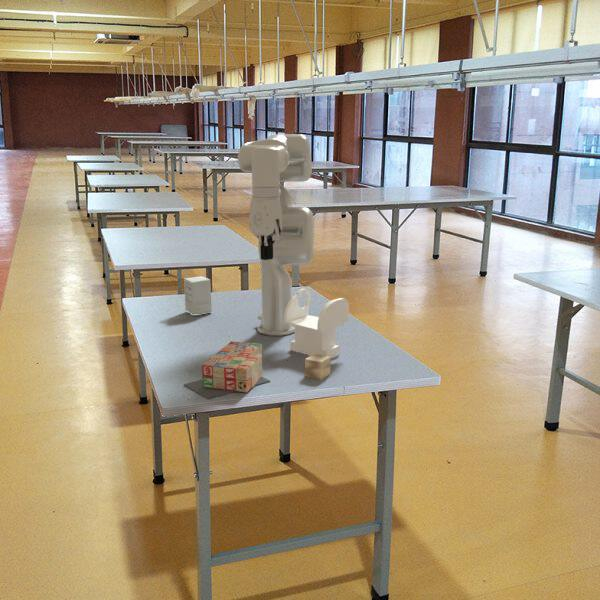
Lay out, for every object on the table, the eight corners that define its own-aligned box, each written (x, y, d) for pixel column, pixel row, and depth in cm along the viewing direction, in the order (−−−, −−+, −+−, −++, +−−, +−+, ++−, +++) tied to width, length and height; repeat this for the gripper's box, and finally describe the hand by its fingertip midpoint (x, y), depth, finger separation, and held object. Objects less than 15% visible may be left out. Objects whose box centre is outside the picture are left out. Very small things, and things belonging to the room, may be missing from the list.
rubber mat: (183, 385, 178) (183, 384, 178) (244, 369, 189) (244, 368, 189) (207, 399, 169) (207, 398, 169) (270, 381, 180) (270, 380, 180)
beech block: (305, 376, 184) (305, 358, 183) (314, 370, 188) (314, 353, 187) (321, 380, 182) (321, 362, 180) (330, 374, 186) (330, 356, 185)
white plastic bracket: (284, 352, 203) (283, 293, 199) (311, 342, 213) (312, 285, 208) (320, 362, 194) (321, 301, 190) (348, 351, 204) (349, 293, 199)
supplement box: (203, 309, 251) (202, 275, 248) (212, 313, 245) (211, 279, 242) (184, 312, 247) (183, 277, 244) (193, 316, 241) (191, 281, 238)
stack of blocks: (230, 340, 193) (272, 343, 190) (230, 361, 195) (272, 365, 192) (201, 365, 173) (247, 369, 170) (202, 388, 175) (248, 392, 172)
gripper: (239, 192, 191) (240, 256, 195) (271, 196, 179) (271, 265, 184) (261, 190, 195) (262, 253, 200) (293, 194, 184) (293, 261, 188)
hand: (266, 259), depth 192 cm, fingers closed
